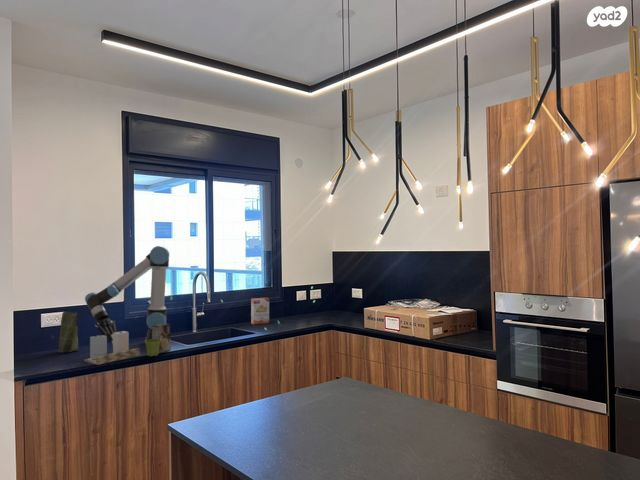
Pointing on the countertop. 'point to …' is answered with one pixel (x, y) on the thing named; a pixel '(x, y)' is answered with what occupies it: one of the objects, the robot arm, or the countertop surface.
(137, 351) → the console
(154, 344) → the plant pot
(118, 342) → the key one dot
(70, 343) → the pouch
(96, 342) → the grey upright block
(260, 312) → the cracker box
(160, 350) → the coffee box
